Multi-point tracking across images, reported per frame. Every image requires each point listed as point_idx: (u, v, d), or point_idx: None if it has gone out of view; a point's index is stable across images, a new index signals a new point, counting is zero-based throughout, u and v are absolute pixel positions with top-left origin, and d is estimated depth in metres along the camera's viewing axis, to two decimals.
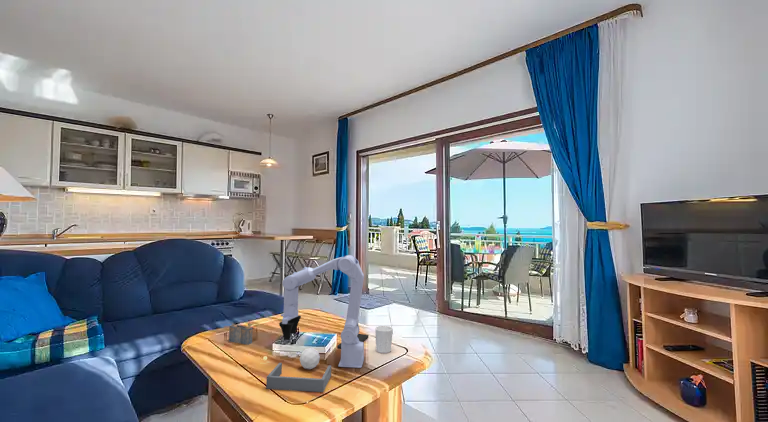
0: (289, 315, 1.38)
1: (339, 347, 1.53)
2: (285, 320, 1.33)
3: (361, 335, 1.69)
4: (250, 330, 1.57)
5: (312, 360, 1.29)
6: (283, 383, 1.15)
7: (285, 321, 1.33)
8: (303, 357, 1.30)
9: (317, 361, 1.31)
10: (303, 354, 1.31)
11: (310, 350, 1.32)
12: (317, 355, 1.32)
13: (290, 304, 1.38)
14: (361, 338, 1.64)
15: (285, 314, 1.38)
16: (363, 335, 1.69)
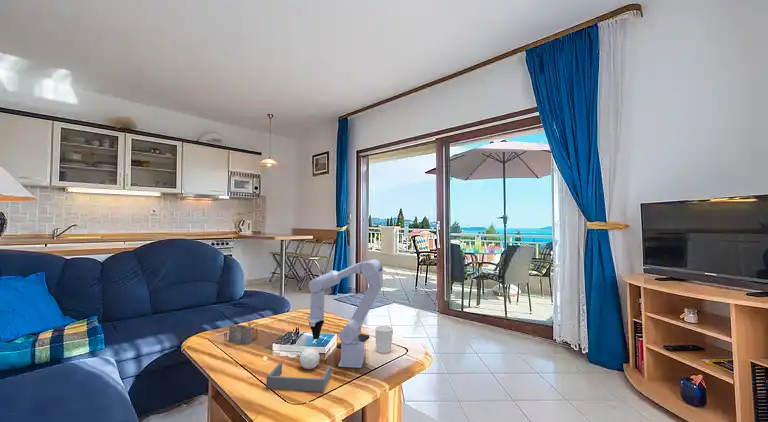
0: (316, 317, 1.39)
1: (338, 347, 1.53)
2: (313, 322, 1.35)
3: (362, 335, 1.69)
4: (250, 330, 1.57)
5: (312, 360, 1.29)
6: (283, 383, 1.15)
7: (313, 323, 1.35)
8: (303, 357, 1.30)
9: (317, 361, 1.31)
10: (303, 354, 1.31)
11: (310, 350, 1.32)
12: (317, 355, 1.32)
13: (316, 307, 1.40)
14: (361, 338, 1.64)
15: (312, 316, 1.40)
16: (364, 335, 1.69)
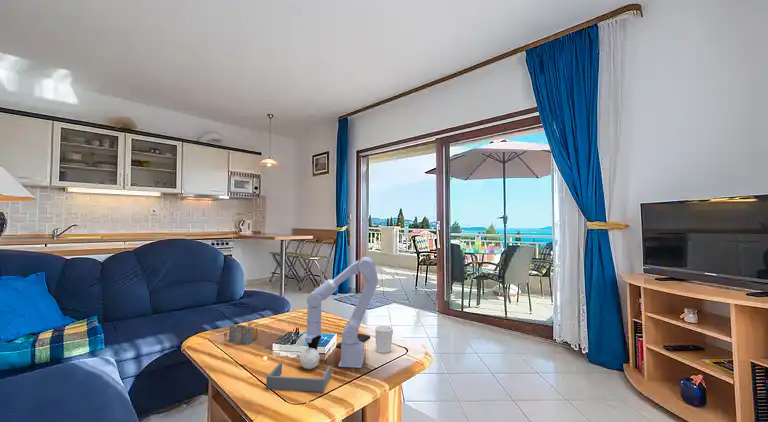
0: (313, 333, 1.35)
1: (337, 347, 1.54)
2: (309, 339, 1.30)
3: (363, 335, 1.68)
4: (250, 330, 1.57)
5: (312, 360, 1.29)
6: (283, 383, 1.15)
7: (309, 340, 1.30)
8: (303, 357, 1.30)
9: (317, 361, 1.31)
10: (303, 354, 1.31)
11: (310, 350, 1.32)
12: (317, 355, 1.32)
13: (314, 322, 1.35)
14: (362, 339, 1.64)
15: (308, 332, 1.35)
16: (365, 335, 1.68)
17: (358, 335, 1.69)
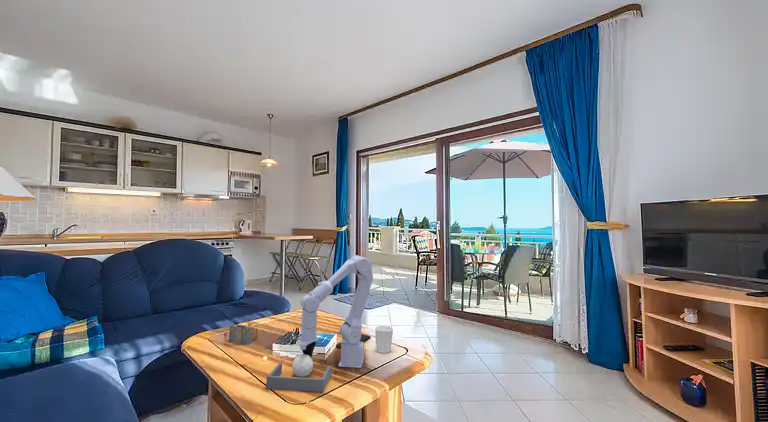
0: (307, 339, 1.28)
1: (337, 346, 1.54)
2: (303, 345, 1.23)
3: (363, 335, 1.68)
4: (250, 330, 1.57)
5: (304, 368, 1.22)
6: (283, 383, 1.15)
7: (303, 346, 1.23)
8: (294, 364, 1.23)
9: (309, 369, 1.24)
10: (295, 360, 1.24)
11: (302, 357, 1.25)
12: (310, 363, 1.24)
13: (312, 327, 1.28)
14: (362, 339, 1.63)
15: (303, 338, 1.28)
16: (365, 336, 1.68)
17: None
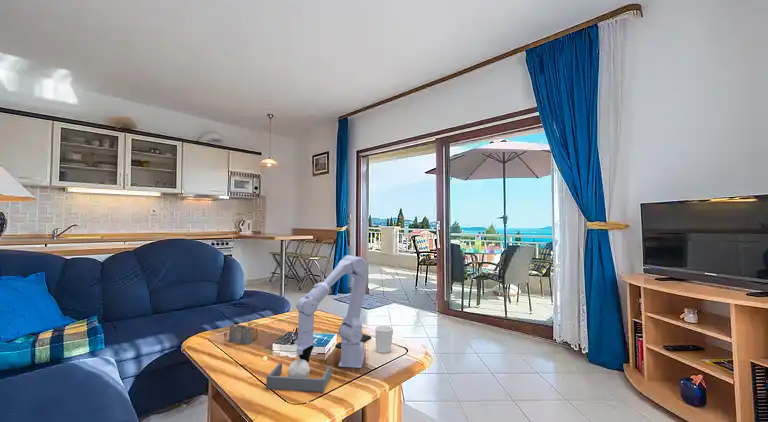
0: (304, 343, 1.23)
1: (337, 346, 1.54)
2: (300, 350, 1.19)
3: (363, 336, 1.68)
4: (250, 330, 1.57)
5: (300, 373, 1.18)
6: (283, 383, 1.15)
7: (300, 351, 1.19)
8: (290, 369, 1.19)
9: (305, 375, 1.19)
10: (291, 365, 1.20)
11: (299, 362, 1.20)
12: (306, 368, 1.20)
13: (310, 330, 1.25)
14: (362, 339, 1.63)
15: (299, 342, 1.24)
16: (365, 336, 1.68)
17: None
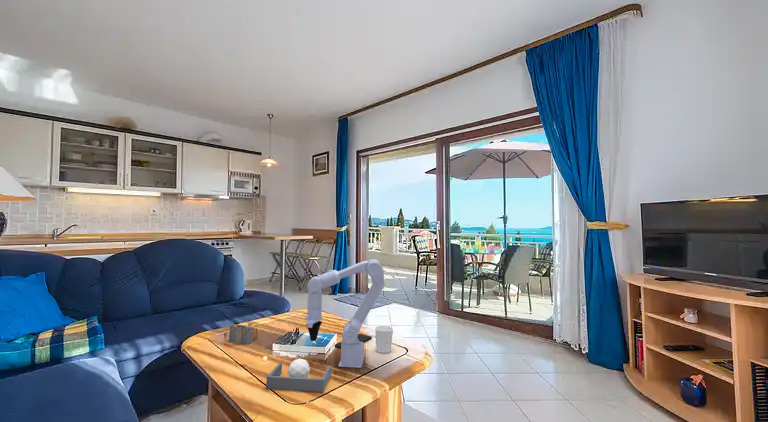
0: (313, 318, 1.35)
1: (336, 346, 1.54)
2: (310, 324, 1.30)
3: (364, 336, 1.68)
4: (250, 330, 1.57)
5: (300, 373, 1.18)
6: (283, 383, 1.15)
7: (310, 325, 1.30)
8: (290, 369, 1.19)
9: (305, 374, 1.19)
10: (291, 365, 1.20)
11: (299, 362, 1.20)
12: (306, 368, 1.20)
13: (315, 307, 1.35)
14: (362, 339, 1.63)
15: (309, 317, 1.35)
16: (366, 336, 1.68)
17: (360, 335, 1.68)
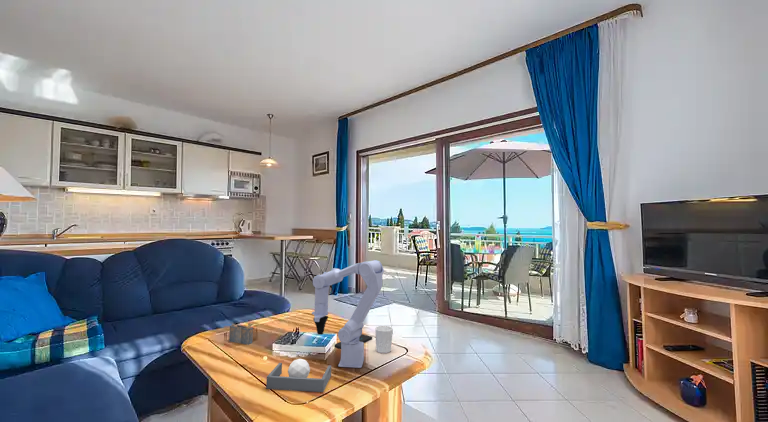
0: (320, 313, 1.42)
1: (336, 346, 1.55)
2: (317, 318, 1.38)
3: (365, 336, 1.68)
4: (250, 330, 1.57)
5: (300, 373, 1.18)
6: (283, 383, 1.15)
7: (317, 319, 1.38)
8: (290, 369, 1.19)
9: (305, 374, 1.19)
10: (291, 365, 1.20)
11: (299, 362, 1.20)
12: (306, 368, 1.20)
13: (319, 302, 1.43)
14: (362, 339, 1.63)
15: (316, 312, 1.43)
16: (367, 336, 1.67)
17: None
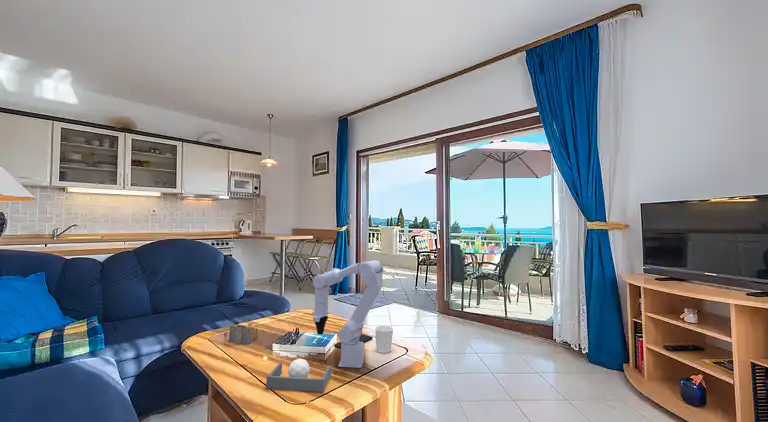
0: (320, 313, 1.42)
1: (335, 346, 1.55)
2: (317, 318, 1.38)
3: (365, 336, 1.67)
4: (250, 330, 1.57)
5: (300, 373, 1.18)
6: (283, 383, 1.15)
7: (317, 319, 1.38)
8: (290, 369, 1.19)
9: (305, 374, 1.19)
10: (291, 365, 1.20)
11: (299, 362, 1.20)
12: (306, 368, 1.20)
13: (319, 302, 1.43)
14: (362, 339, 1.63)
15: (316, 312, 1.43)
16: (367, 336, 1.67)
17: (361, 335, 1.68)
